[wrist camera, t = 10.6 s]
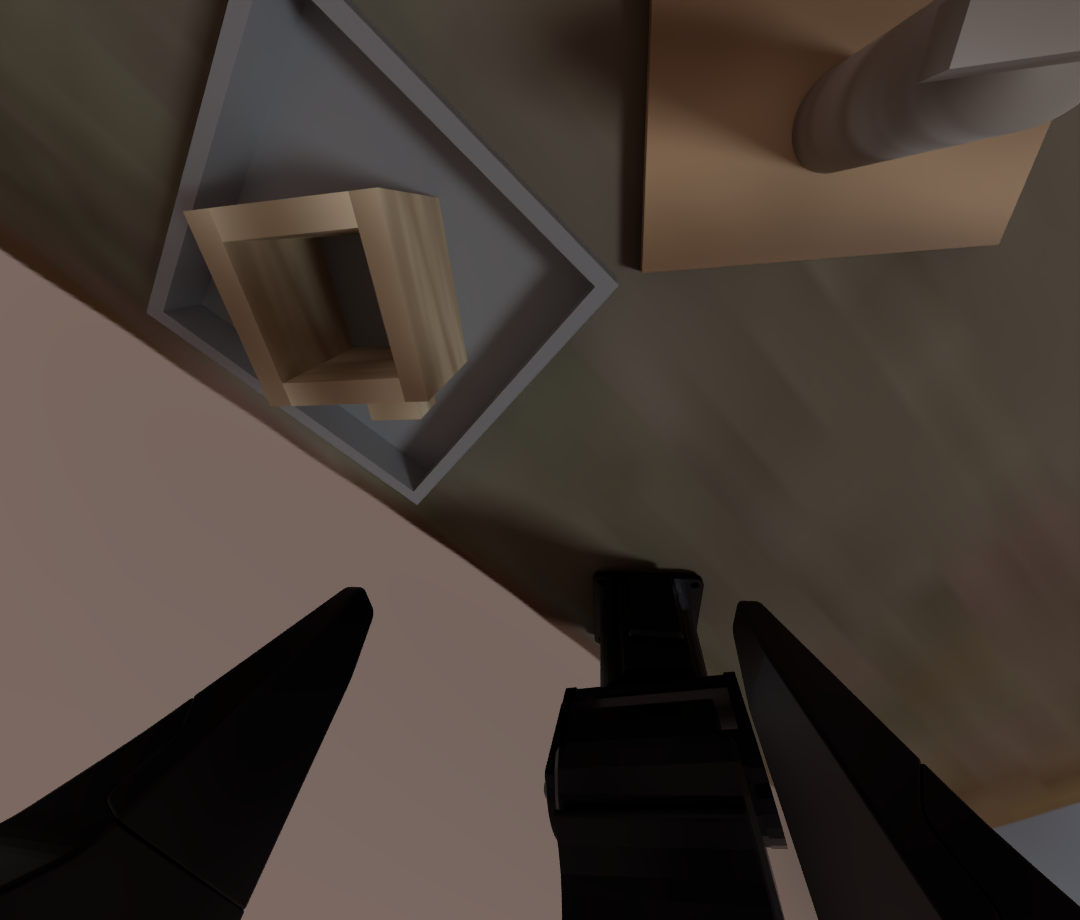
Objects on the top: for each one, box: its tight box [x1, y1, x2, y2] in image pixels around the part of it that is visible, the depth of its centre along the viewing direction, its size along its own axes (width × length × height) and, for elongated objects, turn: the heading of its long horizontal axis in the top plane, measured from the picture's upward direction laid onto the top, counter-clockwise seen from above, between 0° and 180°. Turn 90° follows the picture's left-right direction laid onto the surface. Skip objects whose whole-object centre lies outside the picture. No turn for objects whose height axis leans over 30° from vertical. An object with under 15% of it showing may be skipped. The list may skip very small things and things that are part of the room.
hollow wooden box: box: [183, 187, 468, 420], centre depth 16 cm, size 6×8×5 cm
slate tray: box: [146, 0, 619, 505], centre depth 17 cm, size 14×14×2 cm
